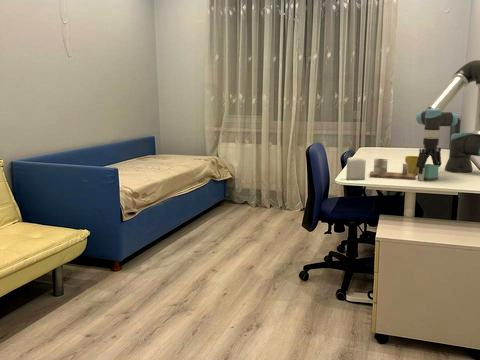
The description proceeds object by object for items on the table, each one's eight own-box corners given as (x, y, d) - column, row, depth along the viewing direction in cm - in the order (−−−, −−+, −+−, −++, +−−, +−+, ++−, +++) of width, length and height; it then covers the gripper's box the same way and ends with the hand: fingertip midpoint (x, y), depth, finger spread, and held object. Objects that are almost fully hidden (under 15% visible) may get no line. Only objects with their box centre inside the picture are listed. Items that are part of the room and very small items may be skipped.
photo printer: (347, 180, 237) (348, 157, 235) (345, 178, 241) (346, 156, 239) (366, 179, 238) (367, 157, 236) (363, 178, 242) (364, 156, 240)
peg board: (414, 176, 249) (415, 159, 247) (415, 179, 237) (416, 162, 236) (370, 173, 256) (371, 157, 254) (369, 177, 245) (370, 160, 243)
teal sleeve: (427, 177, 243) (428, 163, 242) (437, 180, 237) (439, 165, 235) (417, 179, 240) (418, 164, 239) (428, 181, 234) (429, 166, 232)
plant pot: (424, 172, 260) (425, 156, 258) (421, 175, 251) (422, 158, 249) (406, 171, 265) (407, 155, 263) (402, 173, 256) (403, 157, 255)
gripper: (439, 136, 242) (436, 176, 246) (410, 138, 233) (407, 179, 237) (451, 137, 236) (447, 178, 240) (422, 139, 226) (418, 182, 230)
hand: (427, 179), depth 238 cm, fingers open, 9 cm apart
